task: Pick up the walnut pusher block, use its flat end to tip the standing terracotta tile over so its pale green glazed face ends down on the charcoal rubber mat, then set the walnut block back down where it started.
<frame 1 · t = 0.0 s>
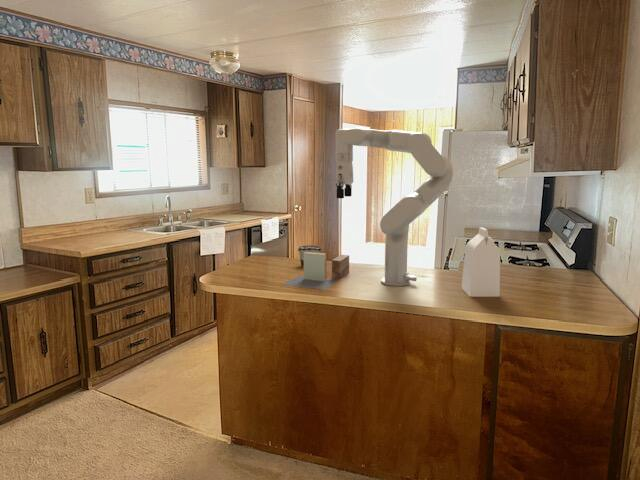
hand: (344, 197, 200), 37 cm above the counter, tool pointing down, fingers open, 9 cm apart
food container: (310, 265, 231), on the counter
tile: (315, 279, 202), point 1 cm above the counter, touching mat
mat: (311, 283, 198), on the counter
milk: (479, 292, 183), on the counter
pusher block: (340, 276, 208), on the counter
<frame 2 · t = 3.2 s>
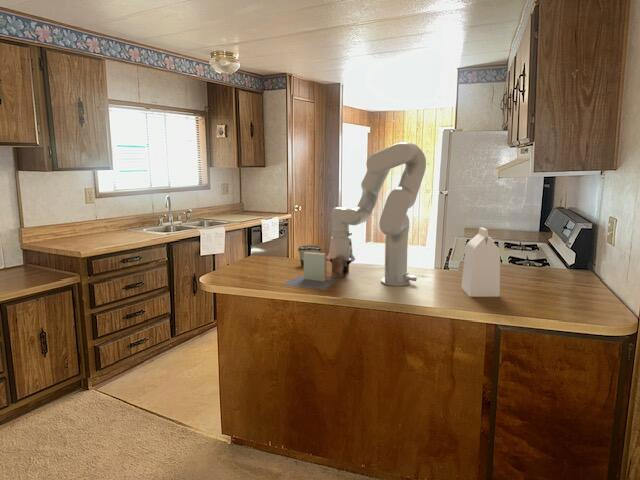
hand: (340, 273, 208), 2 cm above the counter, tool pointing down, fingers closed on pusher block, 4 cm apart
pusher block: (340, 276, 208), on the counter, touching gripper
everything else where it was.
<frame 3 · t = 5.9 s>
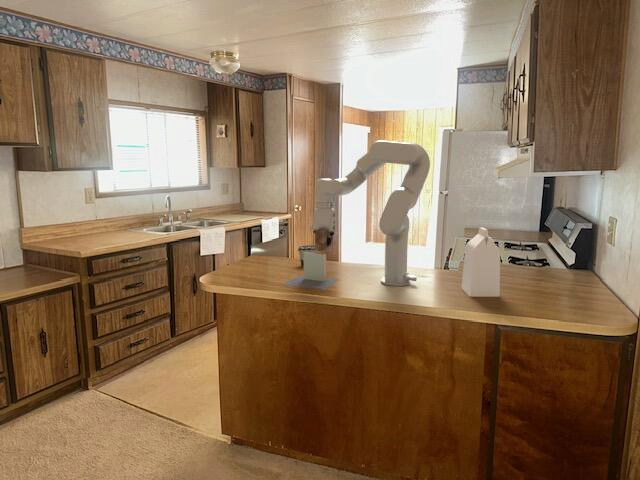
hand: (324, 244, 210), 14 cm above the counter, tool pointing down, fingers closed on pusher block, 4 cm apart
pusher block: (324, 247, 210), point 13 cm above the counter, touching gripper
everything else where it was.
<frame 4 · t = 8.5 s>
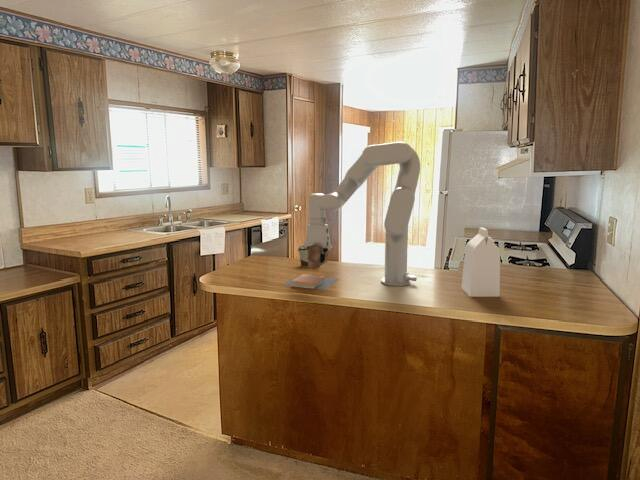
hand: (317, 261, 203), 8 cm above the counter, tool pointing down, fingers closed on pusher block, 4 cm apart
tile: (313, 277, 200), point 2 cm above the counter, tilted 90°, touching mat
pusher block: (317, 264, 203), point 7 cm above the counter, touching gripper
everything else where it was.
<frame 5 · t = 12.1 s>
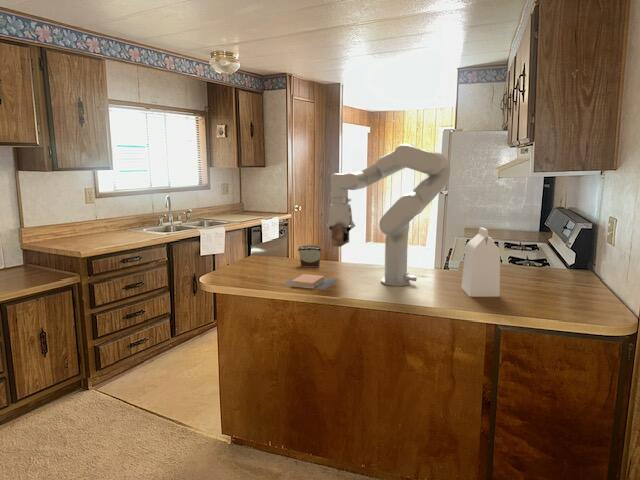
hand: (340, 240, 205), 17 cm above the counter, tool pointing down, fingers closed on pusher block, 4 cm apart
pusher block: (340, 244, 206), point 15 cm above the counter, touching gripper
everything else where it was.
when the fingers open (3 cm above the counter, at t = 15.2 s): pusher block drops 1 cm, on the counter.
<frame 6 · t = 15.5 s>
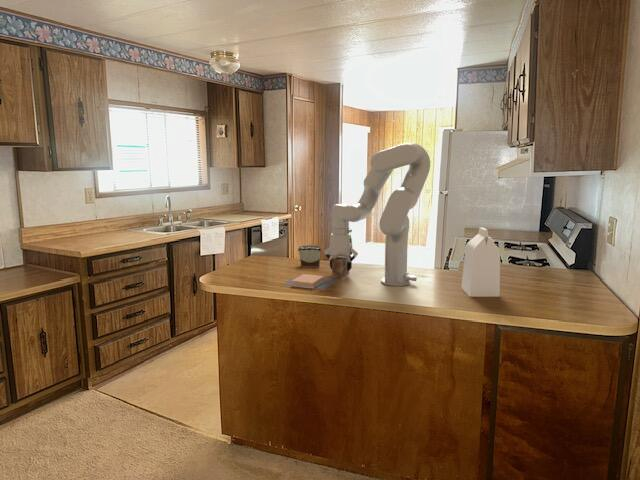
hand: (340, 269, 208), 4 cm above the counter, tool pointing down, fingers open, 7 cm apart
pusher block: (340, 276, 208), on the counter
everything else where it was.
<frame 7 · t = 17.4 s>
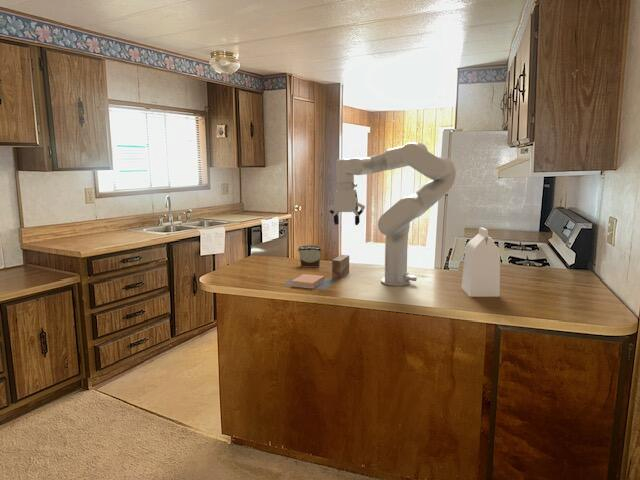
hand: (346, 224, 205), 24 cm above the counter, tool pointing down, fingers open, 9 cm apart
nothing on the counter moved.
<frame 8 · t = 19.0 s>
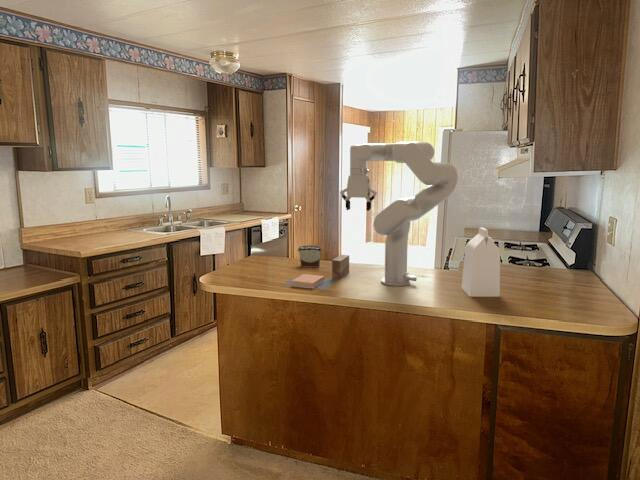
hand: (358, 210, 207), 30 cm above the counter, tool pointing down, fingers open, 9 cm apart
nothing on the counter moved.
at the end: tile tilted 90°; pusher block inside the target area (0.1 cm from its centre), on the counter; the gripper is holding nothing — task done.
